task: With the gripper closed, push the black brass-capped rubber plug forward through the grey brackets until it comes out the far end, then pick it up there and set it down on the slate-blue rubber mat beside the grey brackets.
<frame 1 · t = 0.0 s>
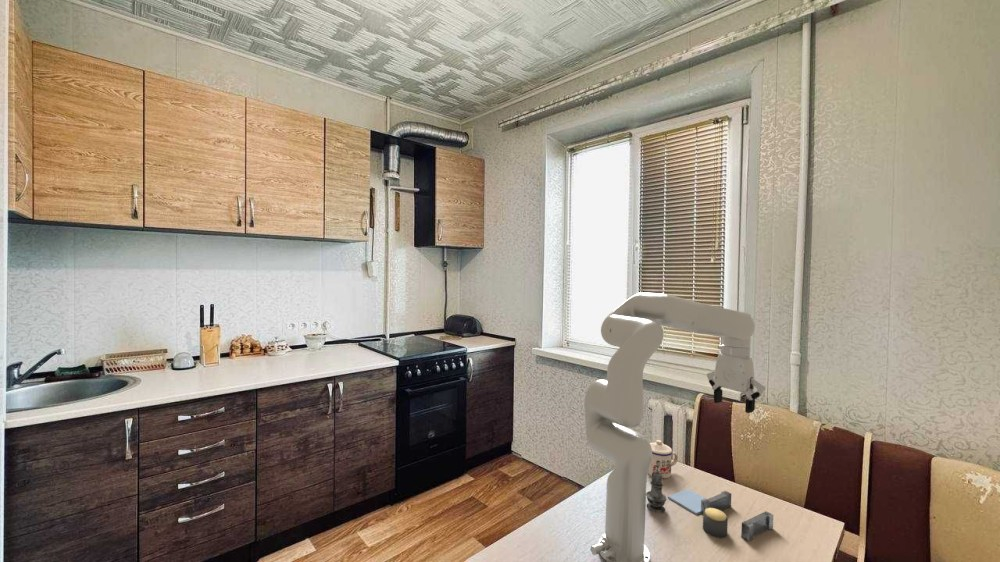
hand: (733, 407, 122), 31 cm above the table, tool pointing down, fingers open, 9 cm apart
mat: (691, 502, 125), on the table
teacup with lid: (661, 473, 143), on the table
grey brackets: (735, 520, 116), on the table
plug: (714, 531, 111), on the table
dark grey turned post: (655, 508, 121), on the table
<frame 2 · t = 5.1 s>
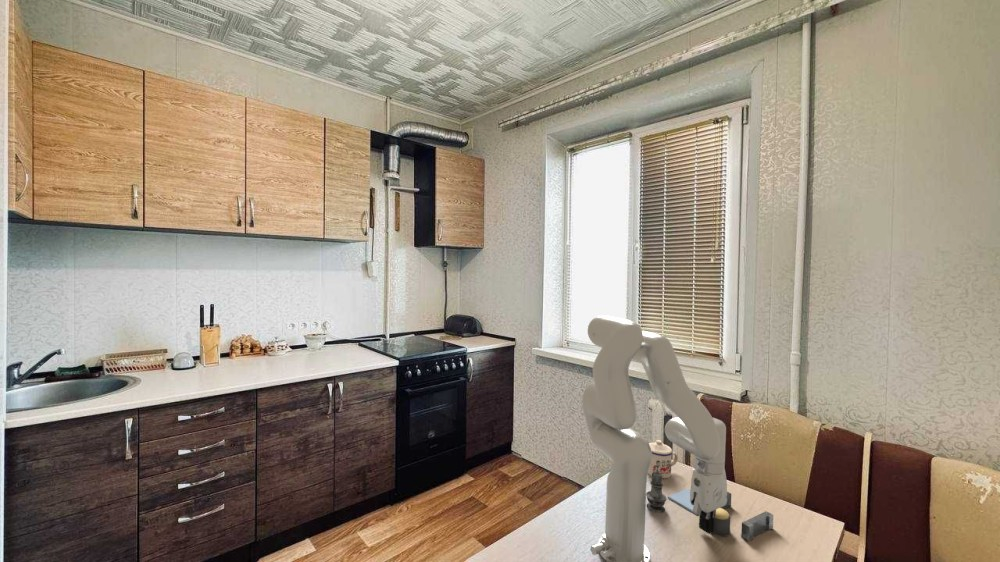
hand: (706, 530, 109), 1 cm above the table, tool pointing down, fingers closed
plug: (717, 529, 112), on the table, touching gripper
everything else where it was.
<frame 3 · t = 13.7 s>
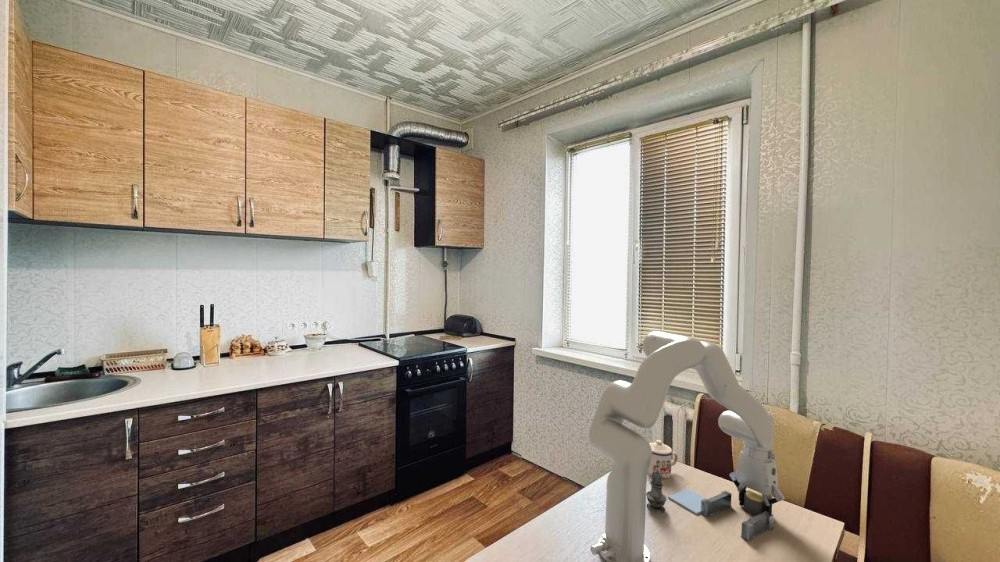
hand: (754, 509, 120), 1 cm above the table, tool pointing down, fingers closed on plug, 6 cm apart
plug: (755, 511, 121), on the table, touching gripper
everything else where it was.
when the fingers open (2 cm above the table, at t = 19.2 s): plug stays where it is, resting on mat.
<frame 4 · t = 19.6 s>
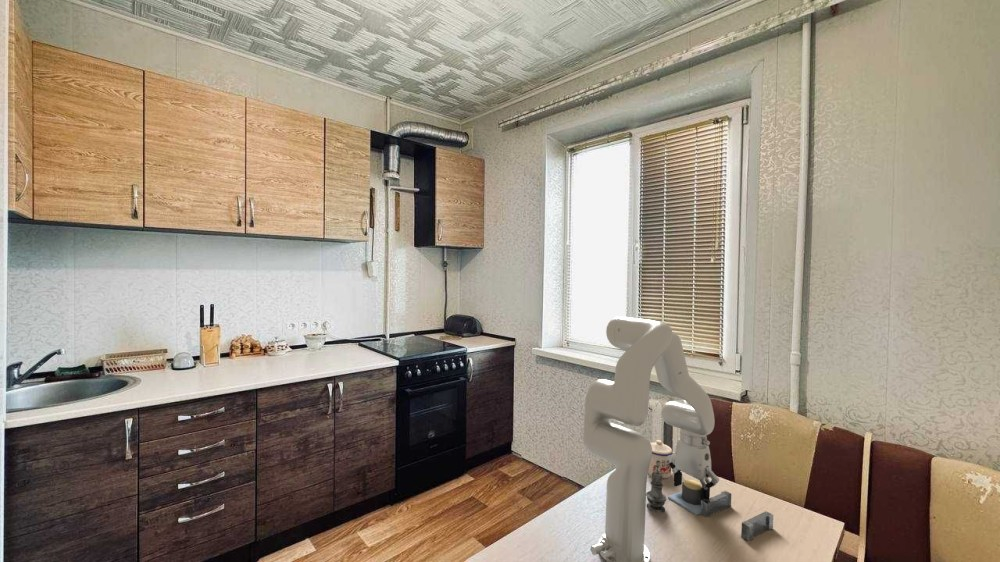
hand: (690, 492, 125), 3 cm above the table, tool pointing down, fingers open, 8 cm apart
plug: (692, 499, 125), point 1 cm above the table, touching mat
everything else where it was.
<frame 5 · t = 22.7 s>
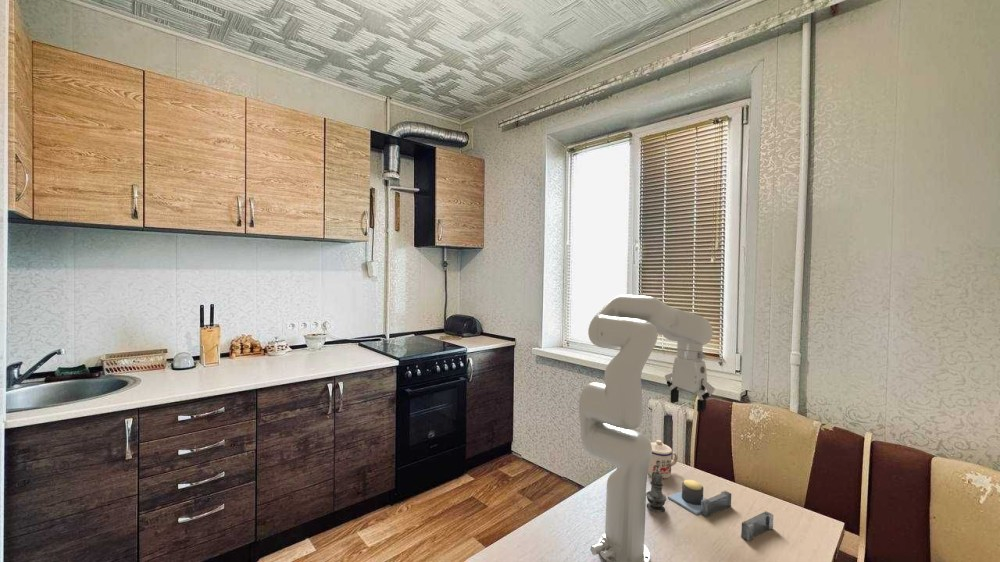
hand: (687, 406, 130), 28 cm above the table, tool pointing down, fingers open, 9 cm apart
nothing on the table moved.
at the end: plug inside the target area on the mat (0.4 cm from its centre), point 0.6 cm above the mat's base; plug tilted 0°; the gripper is holding nothing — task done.
